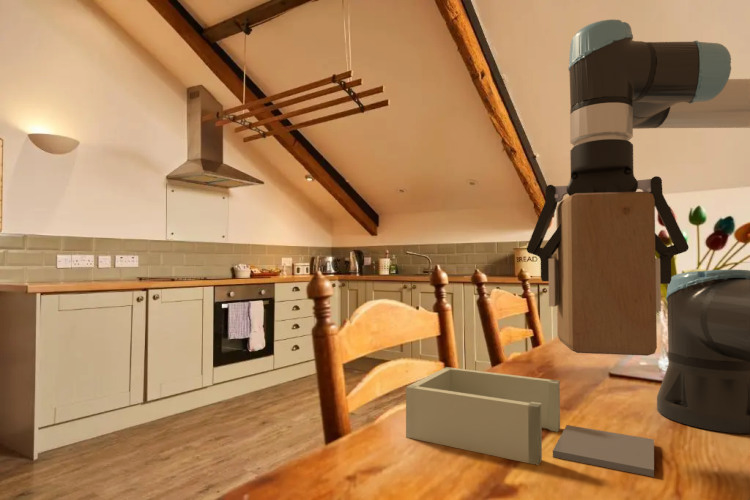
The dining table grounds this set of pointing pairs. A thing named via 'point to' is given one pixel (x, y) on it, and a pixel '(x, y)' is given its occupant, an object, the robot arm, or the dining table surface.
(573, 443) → the trivet
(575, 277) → the wooden block
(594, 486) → the dining table surface
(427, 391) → the crate
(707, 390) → the robot arm
